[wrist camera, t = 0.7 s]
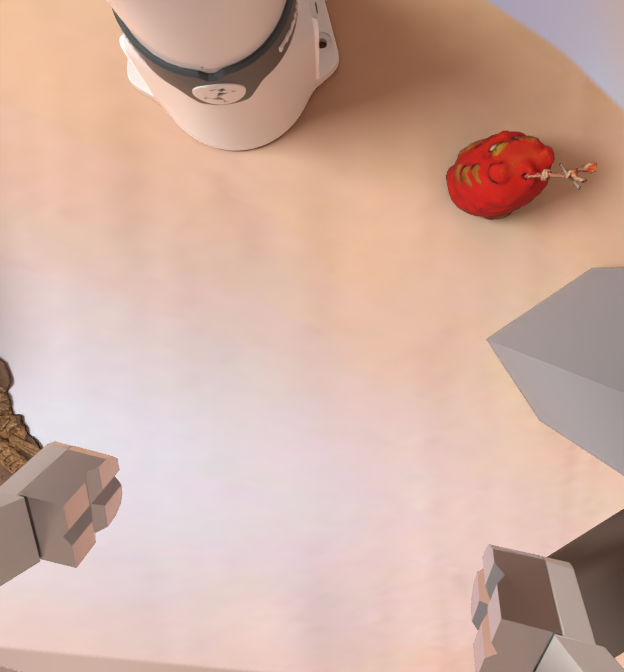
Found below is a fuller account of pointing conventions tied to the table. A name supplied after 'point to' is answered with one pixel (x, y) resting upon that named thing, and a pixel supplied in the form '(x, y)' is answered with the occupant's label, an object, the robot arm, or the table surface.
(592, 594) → the block
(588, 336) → the post
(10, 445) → the wooden fragment
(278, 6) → the robot arm
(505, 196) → the red clay folk toy
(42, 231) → the table surface
